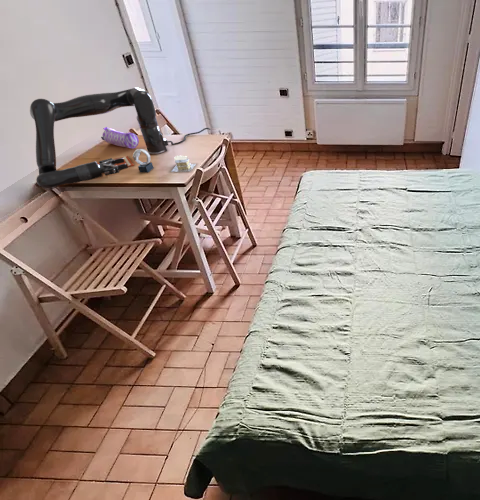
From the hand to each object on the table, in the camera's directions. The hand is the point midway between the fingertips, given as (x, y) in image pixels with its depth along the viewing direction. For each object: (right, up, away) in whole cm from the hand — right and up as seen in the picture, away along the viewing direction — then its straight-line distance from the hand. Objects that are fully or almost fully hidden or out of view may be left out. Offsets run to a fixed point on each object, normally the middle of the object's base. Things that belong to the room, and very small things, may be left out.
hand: (125, 162), depth 187 cm
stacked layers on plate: (+25, -1, +9) cm, 26 cm away
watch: (+6, -2, +8) cm, 10 cm away
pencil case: (-21, +18, +34) cm, 44 cm away
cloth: (-15, +1, +12) cm, 19 cm away
